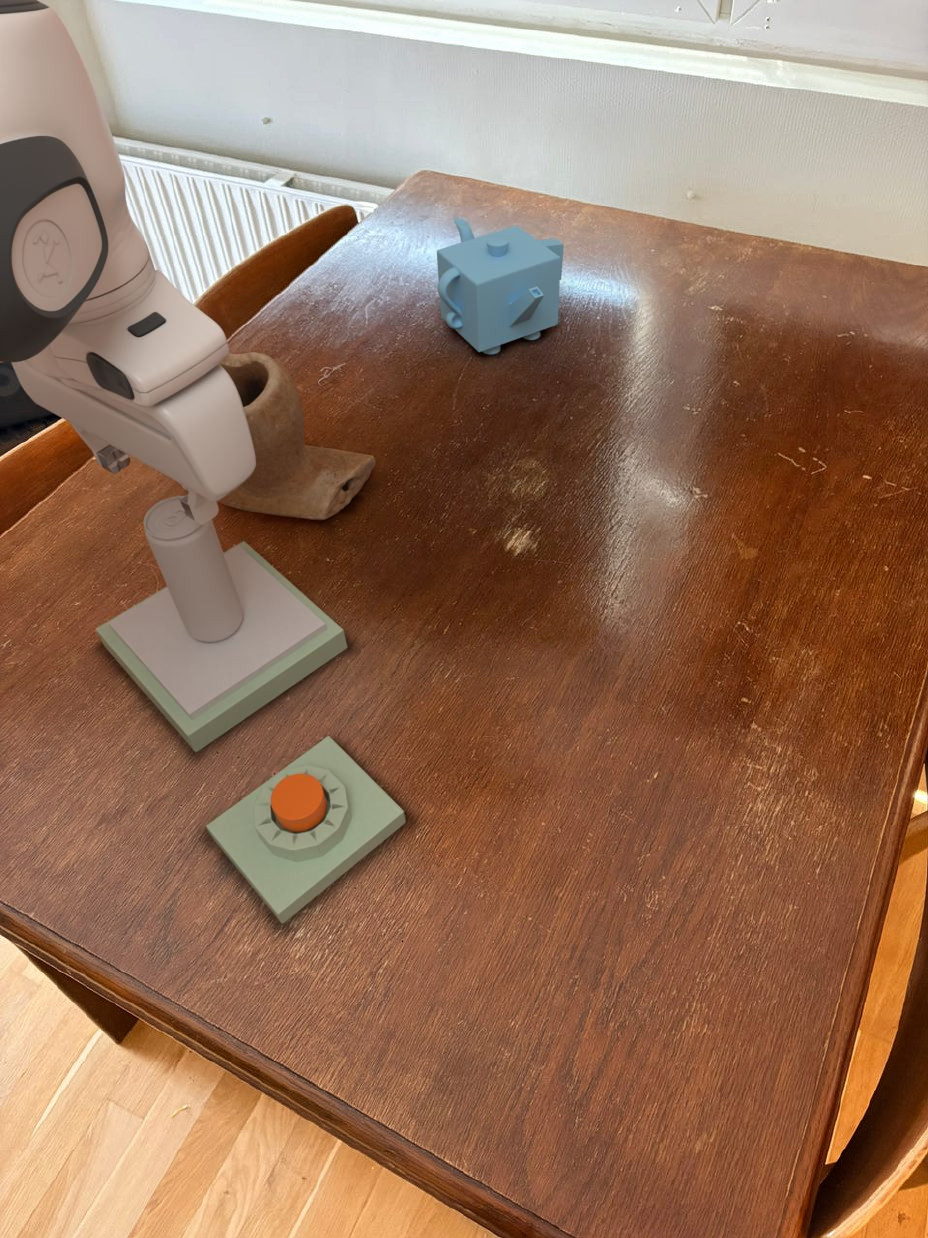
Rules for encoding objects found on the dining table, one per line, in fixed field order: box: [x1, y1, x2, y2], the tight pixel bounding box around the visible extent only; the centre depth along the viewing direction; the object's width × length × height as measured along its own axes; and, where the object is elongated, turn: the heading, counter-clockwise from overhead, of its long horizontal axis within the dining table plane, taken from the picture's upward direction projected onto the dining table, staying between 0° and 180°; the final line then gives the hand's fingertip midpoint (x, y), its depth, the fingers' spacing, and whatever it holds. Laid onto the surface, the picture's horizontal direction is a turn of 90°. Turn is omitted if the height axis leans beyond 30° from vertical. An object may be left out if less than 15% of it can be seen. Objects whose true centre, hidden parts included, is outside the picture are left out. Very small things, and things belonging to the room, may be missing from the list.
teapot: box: [436, 217, 565, 355], centre depth 103 cm, size 16×18×11 cm
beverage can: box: [142, 495, 243, 642], centre depth 70 cm, size 5×5×12 cm
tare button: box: [271, 774, 327, 832], centre depth 62 cm, size 4×4×2 cm
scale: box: [95, 540, 348, 753], centre depth 75 cm, size 15×15×3 cm
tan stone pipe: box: [217, 351, 376, 521], centre depth 83 cm, size 15×12×15 cm
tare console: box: [206, 735, 407, 925], centre depth 64 cm, size 11×9×4 cm
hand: (158, 490), depth 64 cm, fingers open, 8 cm apart
